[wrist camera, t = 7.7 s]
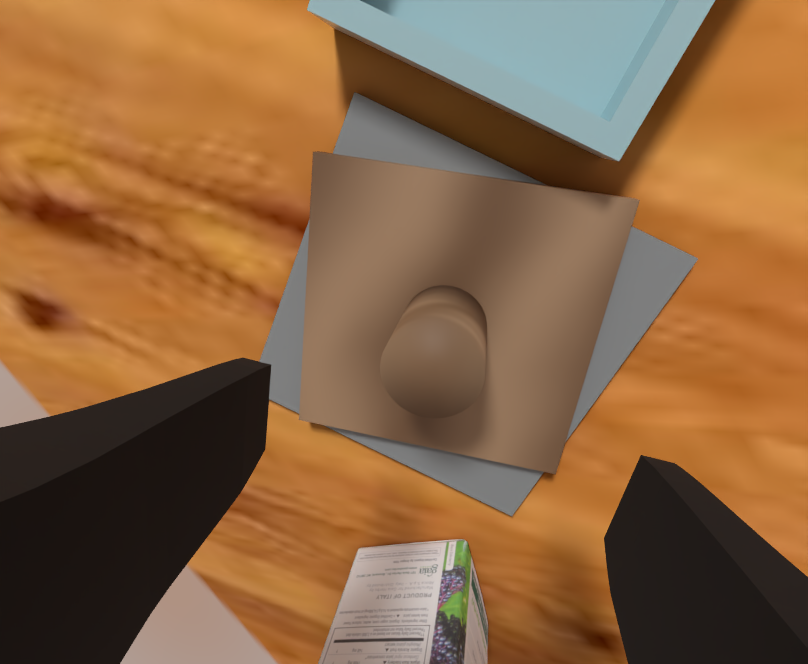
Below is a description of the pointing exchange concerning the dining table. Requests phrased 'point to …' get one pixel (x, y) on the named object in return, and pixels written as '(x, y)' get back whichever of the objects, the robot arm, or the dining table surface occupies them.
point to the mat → (421, 146)
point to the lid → (454, 306)
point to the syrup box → (410, 608)
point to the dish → (537, 55)
